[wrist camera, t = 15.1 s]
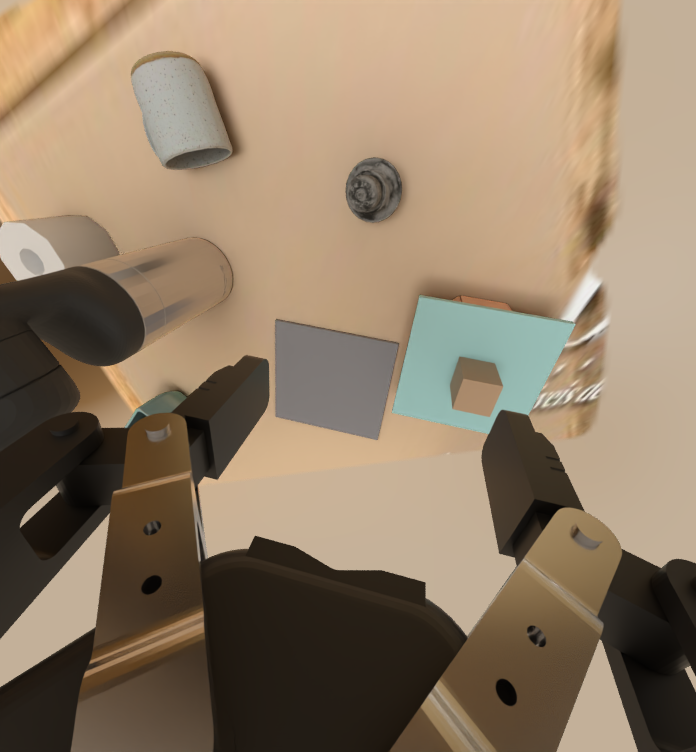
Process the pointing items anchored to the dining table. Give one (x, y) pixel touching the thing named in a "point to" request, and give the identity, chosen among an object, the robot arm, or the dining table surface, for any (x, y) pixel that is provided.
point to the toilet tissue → (52, 244)
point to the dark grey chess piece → (373, 189)
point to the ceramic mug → (179, 111)
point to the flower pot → (157, 406)
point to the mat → (332, 378)
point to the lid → (475, 362)
